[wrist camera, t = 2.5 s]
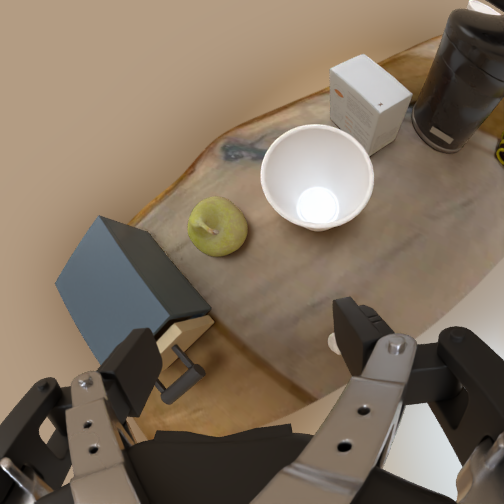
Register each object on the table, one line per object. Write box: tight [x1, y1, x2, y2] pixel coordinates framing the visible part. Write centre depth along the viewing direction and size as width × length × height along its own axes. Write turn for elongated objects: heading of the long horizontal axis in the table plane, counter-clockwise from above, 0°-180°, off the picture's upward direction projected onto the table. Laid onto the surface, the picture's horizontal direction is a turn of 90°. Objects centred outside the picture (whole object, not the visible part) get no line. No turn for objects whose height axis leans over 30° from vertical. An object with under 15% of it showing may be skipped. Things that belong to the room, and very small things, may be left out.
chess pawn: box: [328, 333, 341, 355], centre depth 28 cm, size 3×2×4 cm
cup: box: [261, 124, 374, 231], centre depth 27 cm, size 10×10×11 cm
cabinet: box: [55, 215, 211, 365], centre depth 31 cm, size 15×12×11 cm
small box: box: [330, 54, 412, 156], centre depth 27 cm, size 8×6×10 cm
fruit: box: [188, 196, 248, 257], centre depth 29 cm, size 7×8×12 cm
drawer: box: [154, 315, 214, 405], centre depth 30 cm, size 18×10×9 cm, turn 44°
